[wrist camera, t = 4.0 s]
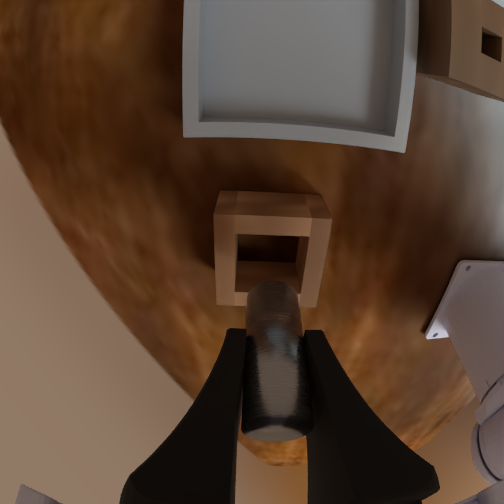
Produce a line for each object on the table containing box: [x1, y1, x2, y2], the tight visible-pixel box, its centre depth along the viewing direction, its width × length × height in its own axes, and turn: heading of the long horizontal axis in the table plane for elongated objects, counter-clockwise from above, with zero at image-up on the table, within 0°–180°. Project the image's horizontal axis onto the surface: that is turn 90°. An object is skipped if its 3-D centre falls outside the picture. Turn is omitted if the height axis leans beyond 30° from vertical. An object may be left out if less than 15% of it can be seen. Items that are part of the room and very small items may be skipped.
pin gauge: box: [241, 280, 314, 442], centre depth 11 cm, size 2×2×6 cm
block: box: [416, 0, 504, 102], centre depth 10 cm, size 5×5×4 cm
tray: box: [182, 0, 419, 153], centre depth 11 cm, size 10×10×2 cm
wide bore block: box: [213, 191, 333, 307], centre depth 17 cm, size 6×6×3 cm
